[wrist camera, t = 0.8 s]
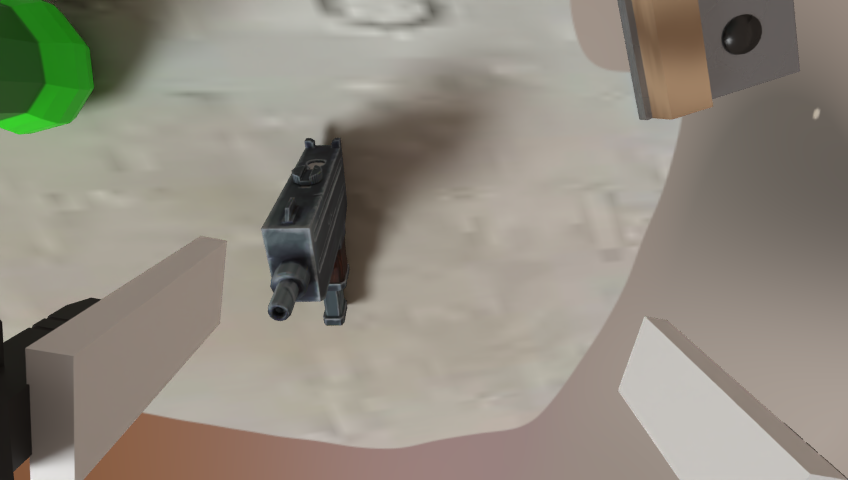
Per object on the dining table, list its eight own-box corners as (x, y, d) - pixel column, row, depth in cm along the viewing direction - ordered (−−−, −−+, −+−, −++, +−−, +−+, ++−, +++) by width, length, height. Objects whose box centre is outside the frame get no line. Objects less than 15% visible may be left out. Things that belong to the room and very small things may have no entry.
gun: (286, 446, 31) (237, 252, 23) (327, 288, 45) (305, 135, 37) (327, 445, 31) (293, 251, 23) (355, 288, 45) (340, 135, 37)
